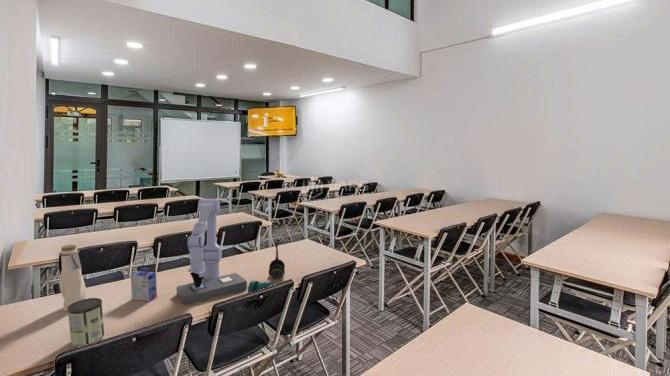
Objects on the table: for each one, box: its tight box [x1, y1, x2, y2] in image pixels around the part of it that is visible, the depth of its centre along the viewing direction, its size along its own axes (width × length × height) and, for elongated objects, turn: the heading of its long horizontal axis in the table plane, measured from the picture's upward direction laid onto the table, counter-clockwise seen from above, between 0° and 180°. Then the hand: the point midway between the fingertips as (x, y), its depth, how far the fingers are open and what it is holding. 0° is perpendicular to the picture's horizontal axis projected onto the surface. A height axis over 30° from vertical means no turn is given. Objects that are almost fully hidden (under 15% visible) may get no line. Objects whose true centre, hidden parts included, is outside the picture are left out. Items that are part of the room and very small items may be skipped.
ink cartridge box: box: [130, 266, 158, 302], centre depth 160 cm, size 10×6×14 cm, turn 79°
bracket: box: [247, 279, 277, 294], centre depth 168 cm, size 18×7×8 cm, turn 162°
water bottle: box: [58, 244, 87, 312], centre depth 149 cm, size 10×9×28 cm
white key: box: [220, 277, 233, 284], centre depth 173 cm, size 5×5×3 cm
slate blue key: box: [191, 283, 205, 291], centre depth 164 cm, size 5×5×3 cm
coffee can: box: [67, 297, 106, 348], centre depth 125 cm, size 10×10×14 cm
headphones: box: [268, 240, 286, 280], centre depth 188 cm, size 9×15×20 cm, turn 8°
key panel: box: [176, 272, 248, 306], centre depth 168 cm, size 14×30×4 cm, turn 129°
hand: (197, 286), depth 164 cm, fingers closed, pressing on slate blue key
